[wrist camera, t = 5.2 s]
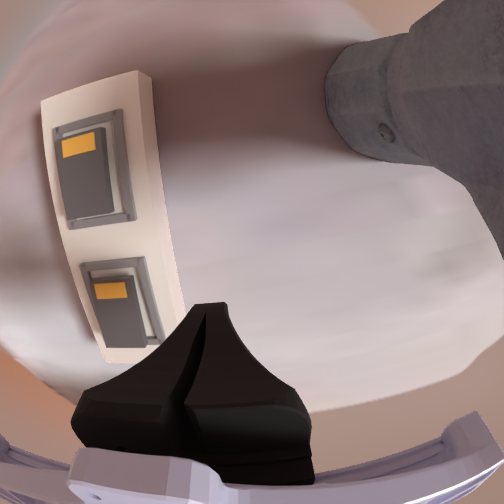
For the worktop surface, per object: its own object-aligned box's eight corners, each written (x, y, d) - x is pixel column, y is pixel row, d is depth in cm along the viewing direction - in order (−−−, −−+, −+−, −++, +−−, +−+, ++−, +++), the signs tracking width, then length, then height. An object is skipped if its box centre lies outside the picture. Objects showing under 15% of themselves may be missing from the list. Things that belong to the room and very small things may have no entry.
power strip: (192, 338, 24) (187, 366, 21) (116, 340, 24) (104, 366, 21) (151, 78, 16) (135, 68, 13) (63, 103, 16) (37, 101, 13)
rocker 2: (148, 342, 19) (145, 348, 18) (109, 343, 19) (105, 348, 18) (133, 274, 18) (129, 278, 17) (93, 278, 18) (88, 281, 17)
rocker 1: (114, 211, 16) (109, 213, 15) (72, 218, 16) (65, 221, 15) (105, 127, 14) (99, 126, 13) (63, 139, 14) (56, 139, 13)
